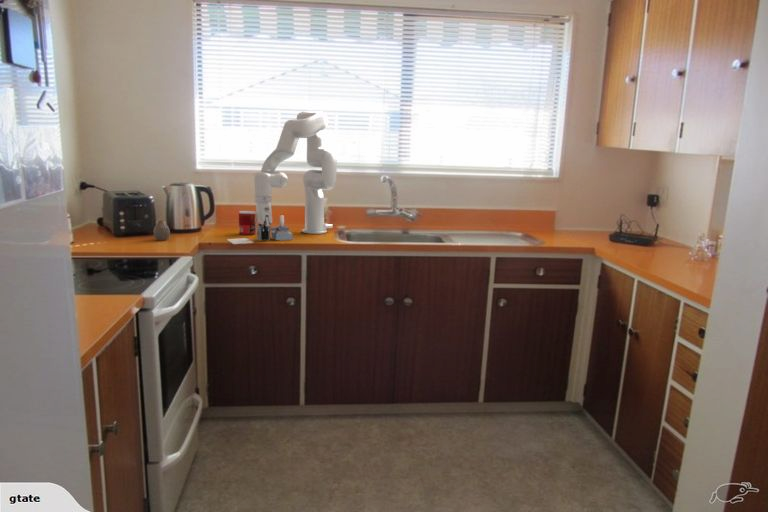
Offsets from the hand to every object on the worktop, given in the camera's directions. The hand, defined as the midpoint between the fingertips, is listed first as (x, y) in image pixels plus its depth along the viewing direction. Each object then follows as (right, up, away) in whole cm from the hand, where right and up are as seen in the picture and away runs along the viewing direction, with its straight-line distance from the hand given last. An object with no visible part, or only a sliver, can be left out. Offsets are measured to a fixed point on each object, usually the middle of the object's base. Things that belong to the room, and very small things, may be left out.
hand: (263, 238), depth 257 cm
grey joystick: (+8, 0, +5) cm, 9 cm away
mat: (-10, -2, -5) cm, 11 cm away
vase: (-44, -1, -7) cm, 45 cm away
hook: (+4, -1, +2) cm, 5 cm away
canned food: (-11, +2, +15) cm, 19 cm away
